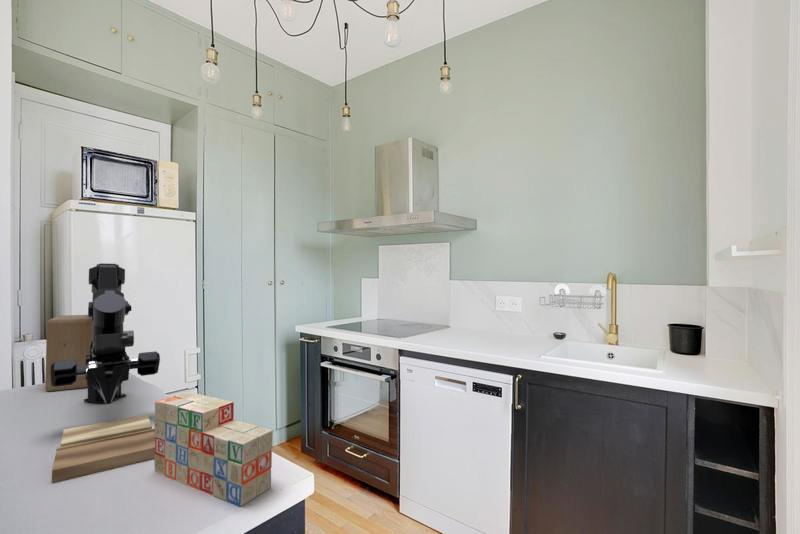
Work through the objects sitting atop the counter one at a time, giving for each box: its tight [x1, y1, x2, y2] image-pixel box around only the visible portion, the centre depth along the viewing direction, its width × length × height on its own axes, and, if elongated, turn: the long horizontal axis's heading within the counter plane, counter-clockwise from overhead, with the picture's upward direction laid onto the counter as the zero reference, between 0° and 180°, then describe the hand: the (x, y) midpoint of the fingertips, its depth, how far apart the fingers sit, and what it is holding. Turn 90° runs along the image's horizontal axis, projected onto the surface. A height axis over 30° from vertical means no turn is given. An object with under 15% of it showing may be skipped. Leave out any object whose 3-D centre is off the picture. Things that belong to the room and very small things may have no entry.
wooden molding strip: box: [51, 427, 155, 484], centre depth 72 cm, size 10×15×2 cm, turn 128°
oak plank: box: [60, 414, 153, 447], centre depth 79 cm, size 3×14×8 cm
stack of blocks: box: [154, 391, 274, 507], centre depth 65 cm, size 21×6×12 cm, turn 63°
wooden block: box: [44, 314, 94, 392], centre depth 114 cm, size 10×10×20 cm
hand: (108, 403), depth 81 cm, fingers closed
